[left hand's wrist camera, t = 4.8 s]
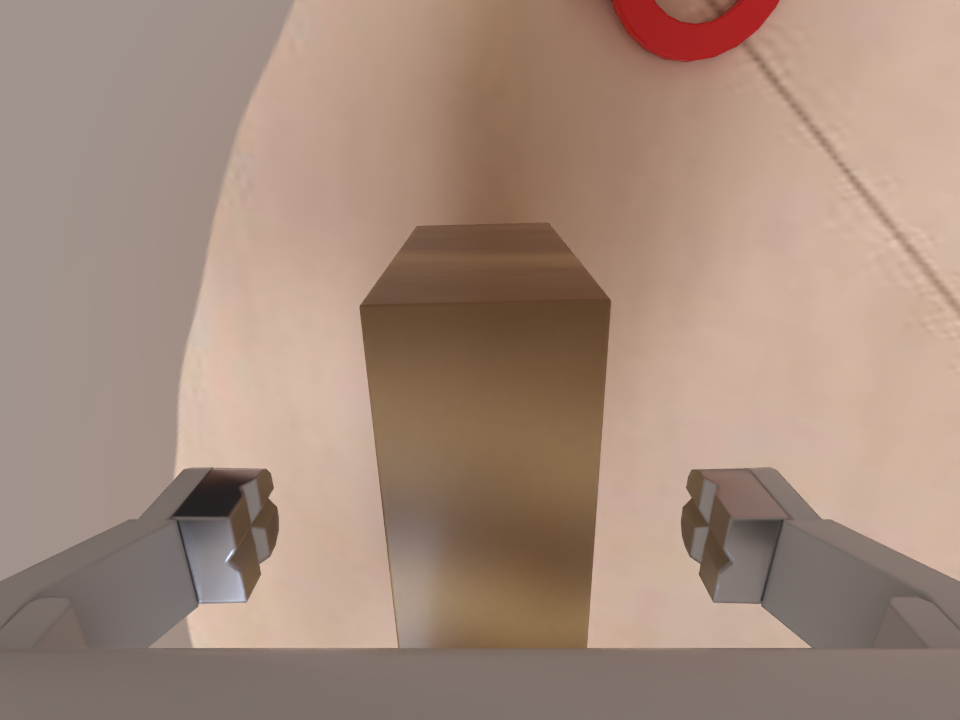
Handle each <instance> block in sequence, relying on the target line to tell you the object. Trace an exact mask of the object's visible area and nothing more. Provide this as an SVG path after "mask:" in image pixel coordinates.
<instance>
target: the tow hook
mask: <svg viewBox="0 0 960 720" xmlns="http://www.w3.org/2000/svg"><path fill="white" fill-rule="evenodd" d="M612 1H613V5H614V8H615V12H616V14H617V15H618V17H619V19H620V21H621V22H622V24H623V26H624V27H625V29H626V31H627V33H628V34H629V35H630V36H631V37H632V38H633V39H634V40H635V41H636V42H638V43H639V44H640V45H641V46H642V47H643V48H644V49H645V50H647V51H649V52H651V53H653V54H655V55H657V56H660V57H662V58H664V59H669V60H676V61H683V62H689V61H695V60H701V59H707V58H712V57H715V56H717V55H719V54H722V53H724V52H726V51H728V50H730V49H732V48H734V47H737V46H738V45H739V44H741V43H742V42H743V41H744V40H746V39H747V38H748V37H749V36H750V35H752V34H753V33H754V32H755V31H757V30H758V29H759V28H760V26H761V25H762V24H763V23H764V21H765V20H766V19H767V18H768V16H769V15H770V14H771V13H772V11H773V10H774V9H775V8H776V6H777V4H778V2H779V0H738V1H737V2H736V3H735V5H734V6H733V7H731V8H730V9H729V10H728V11H727V12H725V13H724V14H723V15H722V16H720V17H719V18H716V19H714V20H712V21H710V22H706V23H700V24H692V23H685V22H680V21H678V20H676V19H674V18H672V17H670V16H668V15H667V14H666V13H665V12H664V11H663V10H662V9H661V8H660V7H659V6H658V5H657V4H656V2H655V0H612Z"/></svg>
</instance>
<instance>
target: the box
mask: <svg viewBox="0 0 960 720" xmlns="http://www.w3.org/2000/svg"><path fill="white" fill-rule="evenodd" d="M610 308H611V300H610V299H609V297H608V296H607V295H606V294H605V292H604V291H603V290H602V289H601V287H600V286H599V285H598V284H597V282H596V281H595V280H594V279H593V277H592V276H591V275H590V274H589V272H588V271H587V270H586V269H585V268H584V266H583V265H582V264H581V263H580V261H579V260H578V259H577V258H576V256H575V255H574V254H573V253H572V251H571V250H570V249H569V248H568V246H567V245H566V244H565V243H564V241H563V240H562V239H561V238H560V236H559V235H558V234H557V233H556V232H555V230H554V229H553V228H552V227H551V225H550V224H549V223H520V224H481V225H442V226H417V227H416V228H415V230H414V231H413V233H412V234H411V235H410V237H409V238H408V240H407V241H406V242H405V244H404V245H403V246H402V248H401V249H400V251H399V252H398V253H397V255H396V256H395V258H394V259H393V260H392V262H391V263H390V265H389V266H388V267H387V269H386V270H385V272H384V273H383V274H382V276H381V277H380V279H379V280H378V281H377V283H376V284H375V286H374V287H373V288H372V290H371V291H370V293H369V294H368V295H367V297H366V298H365V300H364V301H363V302H362V304H361V305H360V315H361V324H362V333H363V342H364V351H365V359H366V368H367V377H368V386H369V394H370V403H371V412H372V421H373V429H374V438H375V447H376V456H377V464H378V473H379V482H380V491H381V499H382V508H383V517H384V526H385V535H386V543H387V552H388V561H389V570H390V578H391V587H392V596H393V605H394V613H395V622H396V631H397V640H398V648H587V640H588V625H589V611H590V596H591V582H592V567H593V553H594V539H595V524H596V510H597V495H598V481H599V467H600V452H601V438H602V423H603V409H604V395H605V380H606V366H607V351H608V337H609V323H610Z"/></svg>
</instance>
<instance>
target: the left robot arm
mask: <svg viewBox="0 0 960 720" xmlns="http://www.w3.org/2000/svg"><path fill="white" fill-rule="evenodd" d="M273 488H274V487H273V482H272V477H271V473H270V472H269V471H268V470H267V469H251V468H188V469H184V470H183V471H182V472H181V473H180V474H179V475H178V476H177V477H176V479H175V480H174V481H173V482H172V483H171V484H170V485H169V486H168V487H167V488H166V489H165V491H164V492H163V493H162V494H161V495H160V496H159V497H158V498H157V499H156V500H155V501H154V503H153V504H152V505H151V506H150V507H149V508H148V509H147V510H146V511H145V512H144V513H143V514H142V516H141V517H140V518H139V519H138V520H127V521H125V522H123V523H121V524H119V525H117V526H115V527H113V528H111V529H109V530H107V531H105V532H102V533H100V534H98V535H96V536H94V537H92V538H90V539H88V540H86V541H84V542H82V543H80V544H77V545H75V546H73V547H71V548H69V549H67V550H65V551H63V552H61V553H59V554H57V555H54V556H52V557H50V558H48V559H46V560H44V561H42V562H40V563H38V564H36V565H34V566H32V567H30V568H27V569H25V570H23V571H21V572H19V573H17V574H15V575H13V576H11V577H9V578H7V579H5V580H2V581H0V720H960V582H959V581H957V580H955V579H953V578H951V577H949V576H947V575H945V574H943V573H941V572H939V571H936V570H934V569H932V568H930V567H928V566H926V565H924V564H922V563H920V562H918V561H916V560H914V559H912V558H909V557H907V556H905V555H903V554H901V553H899V552H897V551H895V550H893V549H891V548H889V547H887V546H885V545H882V544H880V543H878V542H876V541H874V540H872V539H870V538H868V537H866V536H864V535H862V534H860V533H858V532H855V531H853V530H851V529H849V528H847V527H845V526H843V525H841V524H839V523H837V522H835V521H833V520H822V519H821V518H820V517H819V516H818V515H817V513H816V512H815V511H814V510H813V509H812V508H811V507H810V506H809V505H808V504H807V502H806V501H805V500H804V499H803V498H802V497H801V496H800V495H799V494H798V493H797V492H796V490H795V489H794V488H793V487H792V486H791V485H790V484H789V483H788V482H787V481H786V480H785V478H784V477H783V476H782V475H781V474H780V473H779V472H778V471H777V470H775V469H773V468H771V467H764V468H744V469H698V470H691V472H690V474H689V476H688V481H687V486H686V488H687V490H688V492H689V494H690V495H691V497H692V499H691V500H690V501H689V502H688V503H687V504H686V505H685V506H684V507H683V510H682V518H681V528H682V537H683V541H684V544H685V547H686V549H687V552H688V554H689V556H690V557H691V558H693V559H694V560H696V561H697V562H698V563H700V564H701V566H700V572H699V575H700V577H701V579H702V581H703V583H704V585H705V587H706V589H707V591H708V593H709V595H710V597H711V599H712V601H713V602H714V603H751V604H762V607H763V608H765V609H766V610H767V611H768V612H769V613H771V614H772V615H773V616H774V617H775V618H777V619H778V620H779V621H780V622H782V623H783V624H784V625H785V626H786V627H788V628H789V629H790V630H791V631H793V632H794V633H795V634H796V635H797V636H799V637H800V638H801V639H802V640H804V641H805V642H806V643H807V644H808V645H810V646H811V647H812V648H148V647H149V646H151V645H152V644H153V643H154V642H155V641H157V640H158V639H159V638H160V637H162V636H163V635H164V634H165V633H166V632H168V631H169V630H170V629H171V628H173V627H174V626H175V625H176V624H177V623H179V622H180V621H181V620H182V619H184V618H185V617H186V616H187V615H188V614H190V613H191V612H192V611H193V610H194V609H196V608H197V607H198V604H209V603H244V602H247V601H248V599H249V597H250V595H251V593H252V591H253V589H254V587H255V585H256V583H257V581H258V579H259V577H260V575H261V572H260V566H259V564H260V563H262V562H263V561H264V560H266V559H267V558H269V557H270V556H271V554H272V551H273V549H274V547H275V545H276V540H277V536H278V531H279V516H278V510H277V507H276V506H275V505H274V504H273V503H272V502H271V501H270V500H269V499H268V497H269V495H270V494H271V492H272V490H273Z"/></svg>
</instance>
